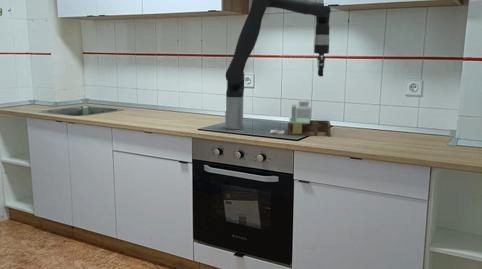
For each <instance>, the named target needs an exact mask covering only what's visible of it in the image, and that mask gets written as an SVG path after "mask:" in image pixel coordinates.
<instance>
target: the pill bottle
mask: <svg viewBox="0 0 482 269" xmlns="http://www.w3.org/2000/svg"><path fill="white" fill-rule="evenodd" d="M309 104H310V102H309V101H308V100H301V101H300V100H299V102H298V106H296V118H310V120H312V119H311V118H312V117H311V116H312V109H311V107H310V106H309Z"/></svg>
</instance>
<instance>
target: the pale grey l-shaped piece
mask: <svg viewBox="0 0 482 269" xmlns="http://www.w3.org/2000/svg"><path fill="white" fill-rule="evenodd" d="M296 108H297V104H291V117H289V121H288V123H298V124H310V118H296Z"/></svg>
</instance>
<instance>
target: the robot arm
mask: <svg viewBox="0 0 482 269" xmlns="http://www.w3.org/2000/svg"><path fill="white" fill-rule="evenodd" d="M329 6H330V5H329ZM329 6H324V2H318V1H312V0H252V1H251V5H250V8H249V12H248V15H247V17H246V18H245V21H244V24H243V26H242V28H241V31H240V32H239V35H238V36H239V37H238V39H237V42H236V47H235V50H234V54H233V57H232V59H231V62H230V63H229V66H228V68H227V70H226V72H225V80H226V82H227V85H226V93H225V95H226V98H225V103H226V105H225V112H224V113H225V116H224V117H225V118H224V119H225V121H224V123H225V124H224V126H225V127H224V128H225V129H227V130H242V129H244V92H245V72H244V71H245V67H246V63H247V61H248V59H249V57H250V56H251V54H252V51H253V50H254V49H255V46H256V44H257V41H258V38H259V36H260V31H261V27H262V21H263V18H264V15H265V13H266V11H267V8H275V9H281V10H286V11H289V12H293V13H297V14H302V15H308V16H309V15H310V16H313V17H315V20H316V21H315V35H314V43H313V44H314V45H313V48H314V49H313V51H314V52H313V53H314V54H318V55H317V57H316V61H317V63H316V64H317V75H318V77H323V76H324V69H325V65H326V64H325V63H326V57H325V55H326V54H327V55H328V54H329V53H330V16H331V15H330V14H331V12H332V9H331V6H330V7H329Z"/></svg>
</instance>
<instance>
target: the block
mask: <svg viewBox="0 0 482 269" xmlns="http://www.w3.org/2000/svg"><path fill="white" fill-rule="evenodd" d="M293 134H302V124H298V123H293Z"/></svg>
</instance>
